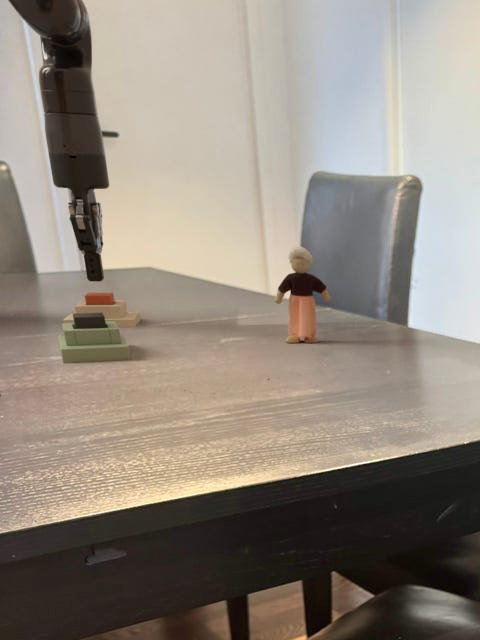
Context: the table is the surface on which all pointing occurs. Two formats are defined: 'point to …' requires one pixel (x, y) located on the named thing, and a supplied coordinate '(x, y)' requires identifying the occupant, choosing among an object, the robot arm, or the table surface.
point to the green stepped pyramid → (93, 344)
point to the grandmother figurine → (301, 296)
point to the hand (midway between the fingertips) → (96, 280)
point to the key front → (89, 320)
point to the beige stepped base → (108, 313)
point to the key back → (99, 299)
